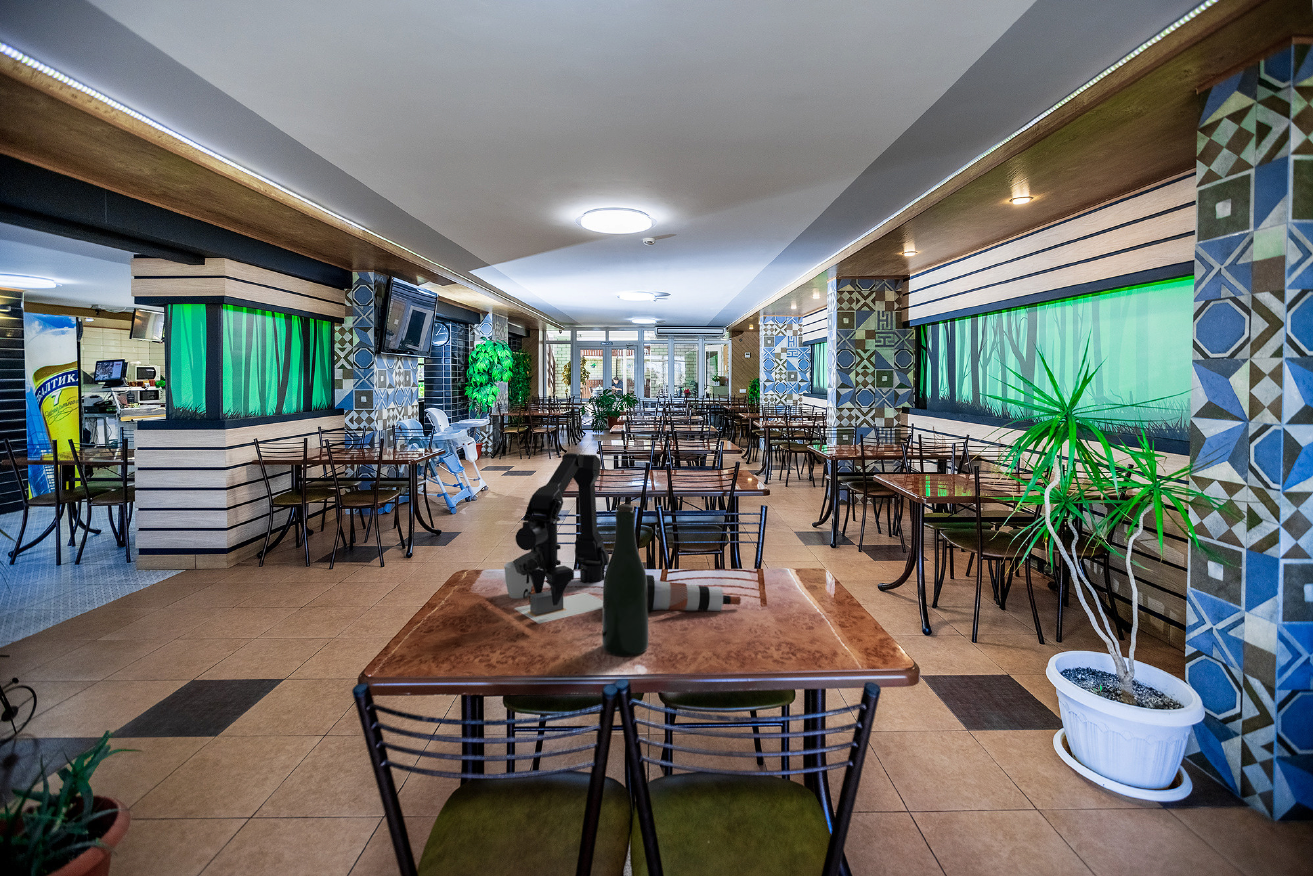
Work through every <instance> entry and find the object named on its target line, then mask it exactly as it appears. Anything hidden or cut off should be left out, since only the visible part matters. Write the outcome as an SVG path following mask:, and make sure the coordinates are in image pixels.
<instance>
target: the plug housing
mask: <svg viewBox="0 0 1313 876" xmlns="http://www.w3.org/2000/svg"><path fill="white" fill-rule="evenodd" d="M563 597H564V593H563V594H562V596H561V598H560V601H559V603H558V605H555V606H554V605H553V602H552V594H551V590H547V591H542V593H537V594H536V593H533V594H530V596H529V605H530V612H531V613H533V614H534V615H536V616H537V615H542V614H546V613H550V612H555V611H559V610H563Z"/></svg>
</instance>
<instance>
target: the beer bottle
mask: <svg viewBox="0 0 1313 876" xmlns="http://www.w3.org/2000/svg"><path fill="white" fill-rule="evenodd" d="M633 509H634V506H633V505H632V504H625V503H624V504H619V505H618V506H617V510H616V512H615V536H614V537H615V538H614V545H613V550H612V553H611V556H610V557H609V563H608V565H606V569H605V571H604V580H603V589H602V600H603V608H602V624H601V625H602V627H601V628H602V635H601V636H602V642H601V643H602V648H603V650H604V651H605V652H606V653H608V654H610V655H613V656H617V657H632V656H637V655H641V654H642V653H644V652H645V651H646V650H647V649H648V647H649V613H648V588H647V577H646V575H647V572H646V569H645V567H644V564H643V561H642V558H641V556H640V553H639V550H638V546H637V539H636V527H635V526H636V524H635V522H636V520H635V519H636V513H635V512H636V511H635V510H633Z"/></svg>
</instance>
